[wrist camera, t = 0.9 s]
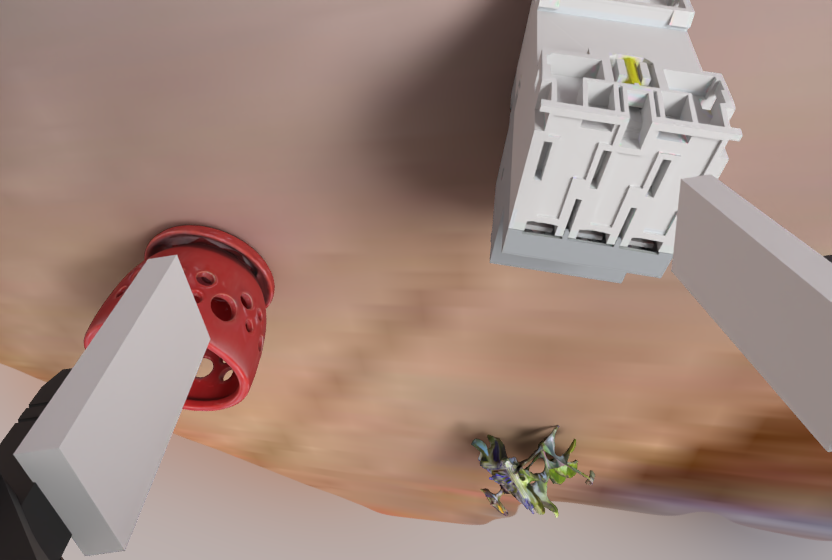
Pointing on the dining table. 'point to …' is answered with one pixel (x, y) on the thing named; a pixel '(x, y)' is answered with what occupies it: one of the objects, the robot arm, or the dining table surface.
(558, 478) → the passion flower
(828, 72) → the dining table surface
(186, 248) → the plant pot
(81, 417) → the robot arm
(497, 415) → the dining table surface
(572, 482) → the dining table surface
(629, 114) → the circuit breaker
